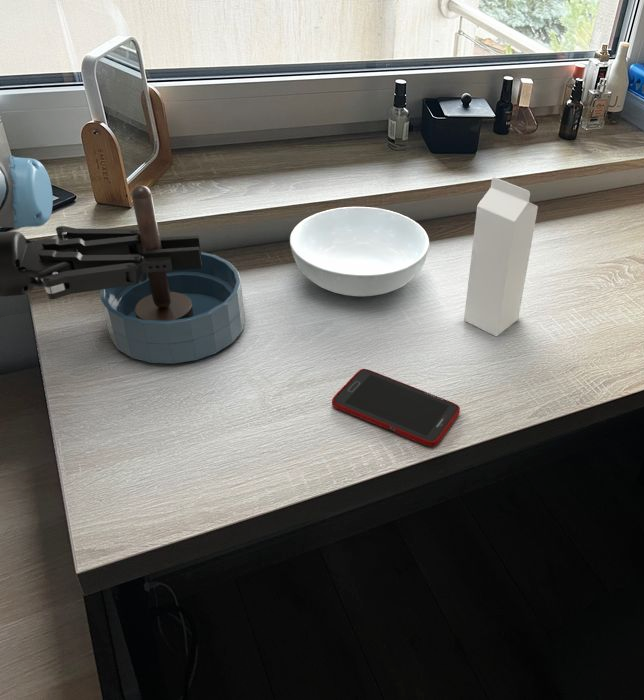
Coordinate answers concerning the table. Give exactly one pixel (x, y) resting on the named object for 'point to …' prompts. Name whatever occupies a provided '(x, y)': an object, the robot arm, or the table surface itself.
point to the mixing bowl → (182, 334)
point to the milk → (499, 257)
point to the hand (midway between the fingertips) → (199, 251)
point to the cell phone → (397, 407)
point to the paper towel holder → (161, 300)
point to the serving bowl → (359, 250)
